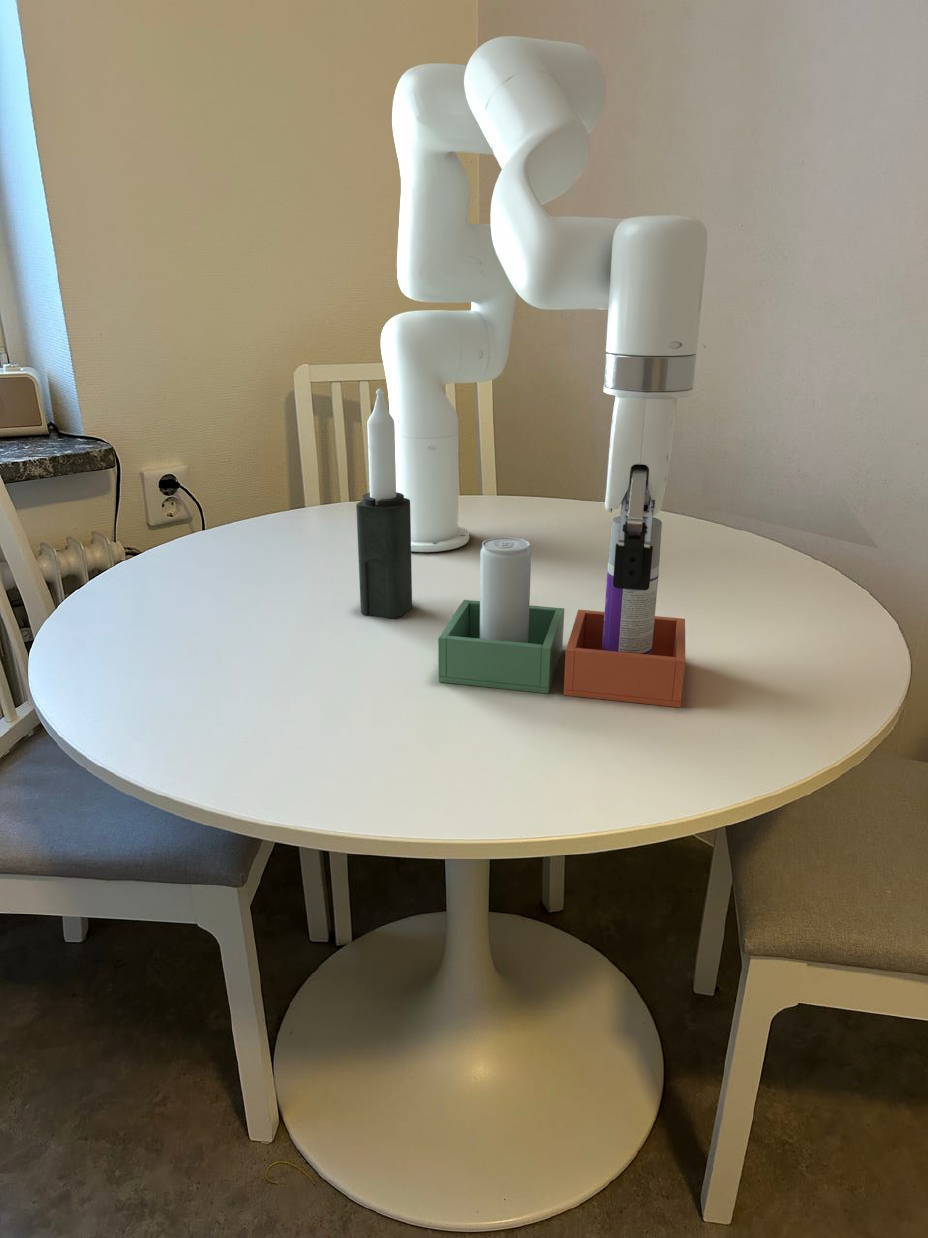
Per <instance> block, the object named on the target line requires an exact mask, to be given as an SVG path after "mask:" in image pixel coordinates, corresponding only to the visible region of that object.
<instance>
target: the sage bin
mask: <svg viewBox="0 0 928 1238" xmlns="http://www.w3.org/2000/svg"><path fill="white" fill-rule="evenodd" d="M564 625H565V608H564V607H555V606H554V607H553V606H541V605H531V604H529V631H528V643H520V642H509V641H499V640H488V639H480V600H473V599H472V600H470V599H463V600H462V601H461V603H460V605H459V606H458V608H457V609H456V611H455V612H454V614H453V615H452V617H451V618H450V620H449V621H448V623H447V624H446V626H444V629H443V630H442V631H441V633H440V635H439V636H438V638H437V639H438V640H437V648H438V649H437V652H438V654H437V658H438V659H437V661H438V665H437V666H438V671H437V672H438V681H437V682H438V683H446V684H455V685H464V686H473V687H484V688H492V689H503V690H511V691H512V690H513V691H522V692H529V693H539V694H540V693H541V694H549V693H550V690H551V687H552V683H553V680H554V677H555V673H556V671H557V668H558V664H559V662H560V658H561V655H562V652H563V648H564V647H563V646H564V645H563V644H564Z"/></svg>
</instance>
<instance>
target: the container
mask: <svg viewBox="0 0 928 1238" xmlns="http://www.w3.org/2000/svg"><path fill="white" fill-rule="evenodd" d="M620 517H621V515H617V516H615V517H613V518H612V520H611V529H610V530H611V531H610V539H609V551H608V552H609V553H608V561H607V570H606V571H607V572H606V582H605V583H606V585H605V599H604V600H605V601H604V612H605V613H604V628H603V642H602V650H604V651H615V652H626V653H636V654H647V655H651V651H652V641H653V630H654V619H655V616H656V607H657V597H658V596H657V595H658V586H659V576H660V575H659V574H660V561H661V544H662V530H663V529H662V527H663V522H662V521H661V519H659V518H656V517H655V516H653V518H652V530H651V541H650V546H653V552H652V563H651V574H650V585H649V589H648V590H632V589H620V588H615V587H614V586H613V577H614V563H615V549H616V544H618V540H619V529H620ZM627 521H628V518H627ZM643 522H645V524H646V519H643ZM644 540H645V535H644Z"/></svg>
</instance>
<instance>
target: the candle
mask: <svg viewBox="0 0 928 1238" xmlns="http://www.w3.org/2000/svg"><path fill="white" fill-rule="evenodd" d="M375 394H376V398H375V402H374V405H373V410H372V413H371V414H370V415H369V417H368V420H367V422H366V423H367V424H366V425H367V447H368V448H367V452H368V453H367V454H368V455H367V456H368V479H369V480H368V481H369V483H368V484H369V492H366V493H364V494H363V495H362V500H361V501H359V502H356V505H355V509H356V511H355V512H356V531H357V555H358V557H357V558H358V575H359V576H358V578H359V579H358V582H359V601H360V604H359V605H360V613H361V614H362V615H364V616H374V617H382V618H387V619H398V618H401V617H403V616H404V615H405V614H406V613H407V612H409V611H410V610H411V609H412V608H413V581H412V580H413V576H412V575H413V574H412V551H411V519H410V500H409V499H407V498H404V495H403V494H401V493H398V492H396V459H395V422H394V419H393V418H392V416H391V415H390V411H389V409H388V407H387V403H386V400H385V397H384V395H385V390H383V388H381V387H379V388H377V389H376V391H375Z"/></svg>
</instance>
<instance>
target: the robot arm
mask: <svg viewBox="0 0 928 1238" xmlns="http://www.w3.org/2000/svg"><path fill="white" fill-rule="evenodd" d="M606 101H607V81H606V75H605V72H604V68H603V66H602V64H601V62H600V60H599V59H598V57H597V56H596V54H595V53H593V51H591V49H589V48H587V47H586V46H583V45H582V44H578V43H572V42H566V41H558V40H550V39H543V38H535V37H526V36H519V35H518V36H517V35H503V36H498V37H495V38H492V39H490V40H487V41H485V42H484V43H483V44H481V45H479V47H477V49H476V50H475V51H474V52H473V53H472V55H471V56H470V58H469V60H468V62H467V64H459V63H445V62H443V63H442V62H434V63H433V62H432V63H423V64H418V65H415V66H413V67H411V68H408V69H407V70H406V71H404V73H403V74H402V75H401V77H400V78H399V80H398V82H397V84H396V87H395V91H394V95H393V99H392V111H391V112H392V113H391V125H392V135H393V141H394V146H395V152H396V156H397V161H398V167H399V175H400V202H399V216H398V217H399V218H398V234H397V254H396V255H397V256H396V271H397V272H396V275H397V283H398V286H399V289H400V291H401V293H402V294H403V295H404V296H405V297H406V298H408V299H410V300H413V301H416V302H421V303H471V309H469V310H468V309H467V310H466V309H465V310H462V309H461V310H448V309H432V310H429V309H427V310H410V311H404V312H400V313H398V314H396V315H394V316H393V317H391V318H390V319H388V321H386V322H385V324H384V326H383V328H382V330H381V334H380V351H381V352H380V353H381V360H382V363H383V368H384V374H385V380H386V386H387V388H386V389H387V394H388V395H387V397H388V407H389V409H388V411H389V413H390V415H391V416H392V418H393V419H394V422H395V459H396V492H398V493H401V494H403V495H404V498H407V499H409V500H410V519H411V553H412V552H414V553H436V552H445V551H450V550H454V549H458V548H460V547H464V546H465V545H466V544H468V542H469V540H470V533H469V531H468V529H466V528H465V527H463V526H461V525H459V485H460V484H459V475H460V474H459V468H460V467H459V459H460V458H459V457H460V455H459V449H460V448H459V446H460V445H459V444H460V443H459V441H460V439H459V438H460V436H459V435H460V434H459V433H460V432H459V431H460V430H459V427H460V425H459V416H458V414H457V413H458V412H457V411H456V408H455V406H454V405H453V403H452V402H451V400H450V399H449V398H448V397H447V395H446V394H445V392H444V390H443V388H442V386H443V385H451V384H469V383H470V384H471V383H485V382H491V381H493V380H496V379H497V378H498V377H499V376H500V375H501V374H502V373H503V371H504V369H505V367H506V364H507V361H508V357H509V353H510V352H509V351H510V347H511V338H512V330H513V323H514V316H515V310H516V309H515V308H516V301H517V294H518V296H519V297H520V298H521V299H522V300H523V301H524V302H526V303H527V304H528V305H530V306H531V307H535V308H536V309H540V310H547V311H548V310H553V311H555V310H557V311H561V310H599V311H600V310H607V326H606V343H605V359H604V372H603V373H604V375H603V389H602V391H603V393H604V394H606V395H610V396H615V397H614V401H613V409H612V416H611V424H610V425H611V426H610V435H609V436H610V438H609V450H608V461H607V474H606V487H605V488H606V489H605V497H604V498H605V499H604V510H605V511H606V512H608V513H612V512H613V510H619V508H620V511H619V512H620V513H619V516H621V517H620V529H619V540H618V544H616V549H615V563H614V577H613V586H614V587H615V588H620V589H632V590H648V589H649V585H650V574H651V563H652V552H653V546H650V541H651V530H652V518H653V517H654V516H655V515H657V514H659V513H660V512H662V507H663V503H664V498H665V494H666V489H667V484H668V478H669V474H670V468H671V460H672V453H673V445H674V435H675V427H676V418H677V417H676V416H677V408H678V399H680V398H687V397H688V398H689V397H691V396H693V394H694V382H695V371H696V363H697V362H696V361H697V352H698V344H699V333H700V323H701V322H700V321H701V314H702V313H701V311H702V304H703V303H702V302H703V292H704V282H705V281H704V280H705V272H706V263H707V262H706V261H707V251H708V231H707V227H706V225H705V223H704V222H703V221H702V220H700V219H698V218H697V217H694V216H693V217H692V216H687V215H640V216H639V215H638V216H633V217H628V218H617V217H616V218H615V217H612V218H611V217H600V216H599V217H597V216H595V217H594V216H576V215H575V216H574V215H552V214H549V213H548V212H547V210H545V208H544V207H543V205H545V204H548V203H550V202H552V201H554V200H555V199H557V198H559V197H560V196H562V195H563V194H565V193H566V192H568V191H569V190H570V189H571V188H572V187H573V186H574V185H575V184H576V183H577V182H578V180H579V179H580V178H581V177H582V175H583V173H584V171H585V169H586V167H587V165H588V162H589V158H590V153H591V141H590V135H589V134H591V132H592V131H594V130H595V128H596V126H597V125H598V123H599V122H600V120H601V118H602V116H603V113H604V110H605V107H606V106H605V105H606ZM457 153H466V154H477V155H491V156H494V157H495V159H496V161H497V163H498V165H499V167H500V168H501V171H500V172H499V174H498V177H497V180H496V182H495V184H494V188H493V192H492V195H491V196H492V197H491V203H490V214H489V215H490V223H469V211H470V201H471V183H470V180H469V176H468V172H467V170H466V169H465V166H464V164H463V162H462V160H461V158H460V156H459V155H458V154H457ZM620 506H621V507H620ZM627 518H628V521H627ZM643 519H646V524H645V522H643ZM644 535H645V540H644Z"/></svg>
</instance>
